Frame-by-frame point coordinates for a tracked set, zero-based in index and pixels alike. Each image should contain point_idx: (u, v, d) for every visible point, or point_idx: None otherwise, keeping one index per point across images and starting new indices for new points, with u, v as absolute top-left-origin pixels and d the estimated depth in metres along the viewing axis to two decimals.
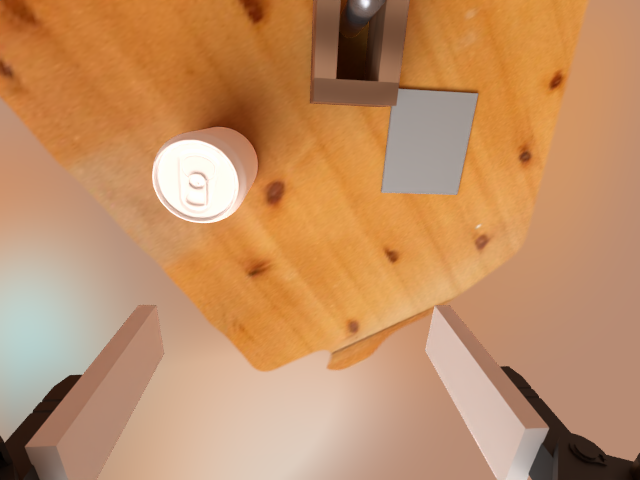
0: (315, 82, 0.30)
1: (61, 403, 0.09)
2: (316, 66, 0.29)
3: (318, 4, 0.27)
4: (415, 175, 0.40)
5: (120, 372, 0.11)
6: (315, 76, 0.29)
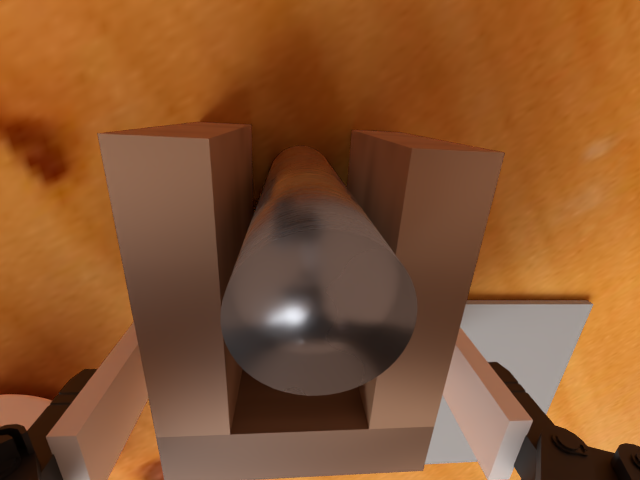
0: (162, 446, 0.09)
1: (78, 395, 0.10)
2: (157, 412, 0.09)
3: (126, 251, 0.07)
4: (447, 438, 0.20)
5: (133, 366, 0.12)
6: (159, 434, 0.09)
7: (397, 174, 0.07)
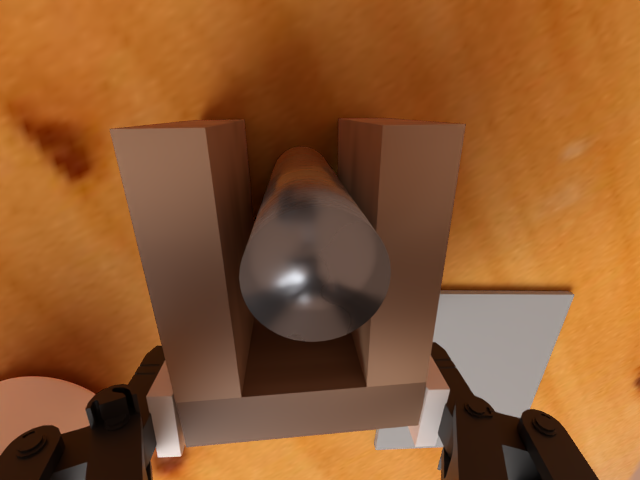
0: (181, 411, 0.10)
1: (164, 365, 0.11)
2: (175, 379, 0.10)
3: (139, 232, 0.08)
4: None
5: None
6: (178, 399, 0.10)
7: (373, 151, 0.08)
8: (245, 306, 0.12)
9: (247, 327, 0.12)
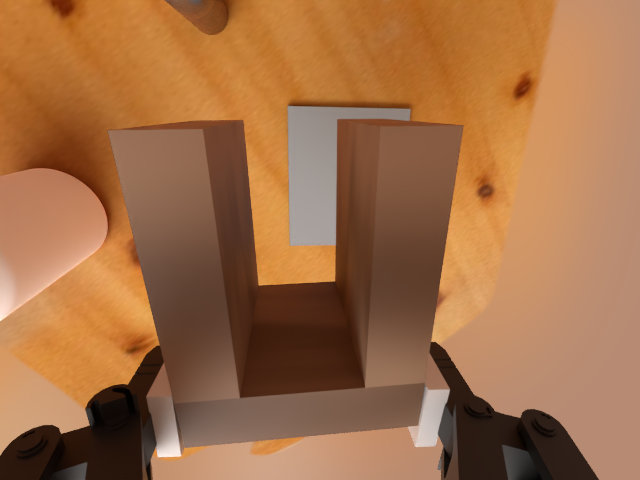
0: (180, 412, 0.10)
1: (163, 365, 0.11)
2: (173, 380, 0.10)
3: (137, 233, 0.08)
4: (333, 221, 0.29)
5: None
6: (176, 400, 0.10)
7: (372, 152, 0.08)
8: (244, 307, 0.12)
9: (246, 328, 0.12)
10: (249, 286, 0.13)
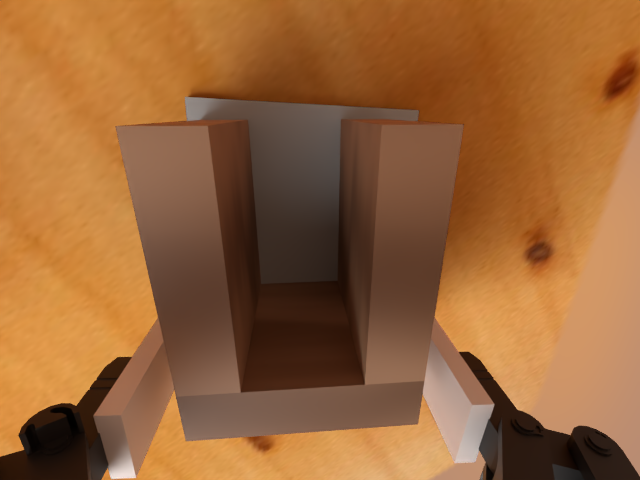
0: (181, 405, 0.10)
1: (118, 379, 0.10)
2: (176, 373, 0.10)
3: (143, 227, 0.08)
4: None
5: (164, 354, 0.12)
6: (178, 393, 0.10)
7: (373, 150, 0.08)
8: (246, 303, 0.12)
9: (248, 324, 0.12)
10: (252, 283, 0.13)
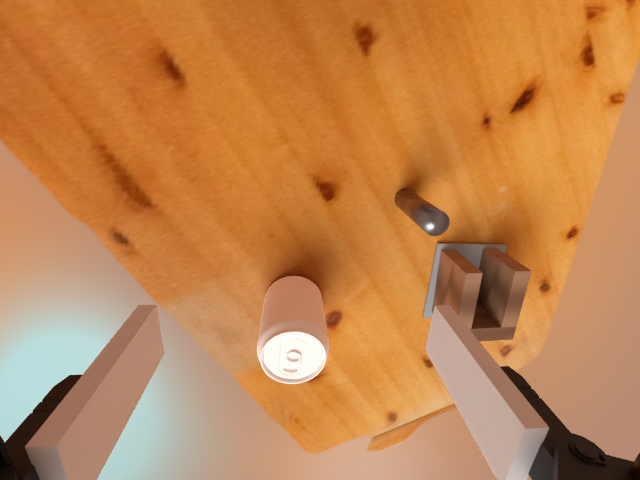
0: None
1: (61, 403, 0.09)
2: None
3: (464, 291, 0.38)
4: None
5: (121, 372, 0.11)
6: None
7: (510, 273, 0.39)
8: None
9: None
10: None
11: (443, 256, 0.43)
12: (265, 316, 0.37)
